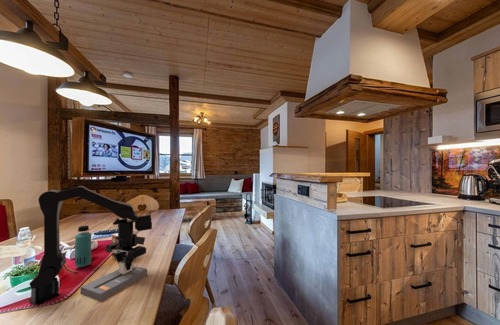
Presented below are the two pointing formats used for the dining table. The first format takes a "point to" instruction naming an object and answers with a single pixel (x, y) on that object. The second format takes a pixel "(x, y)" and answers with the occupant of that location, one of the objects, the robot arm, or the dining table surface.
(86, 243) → the beverage bottle
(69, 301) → the dining table surface
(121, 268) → the fader knob
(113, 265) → the dining table surface
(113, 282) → the console
